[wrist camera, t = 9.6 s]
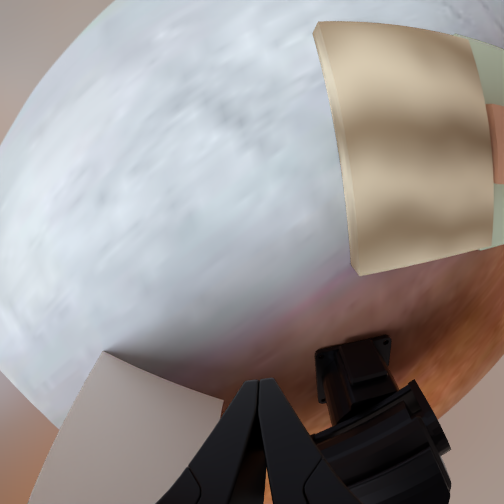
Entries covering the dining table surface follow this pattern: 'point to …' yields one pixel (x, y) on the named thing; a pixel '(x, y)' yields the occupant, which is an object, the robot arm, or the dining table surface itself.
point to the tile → (496, 140)
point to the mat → (500, 93)
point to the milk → (125, 438)
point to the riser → (408, 142)
